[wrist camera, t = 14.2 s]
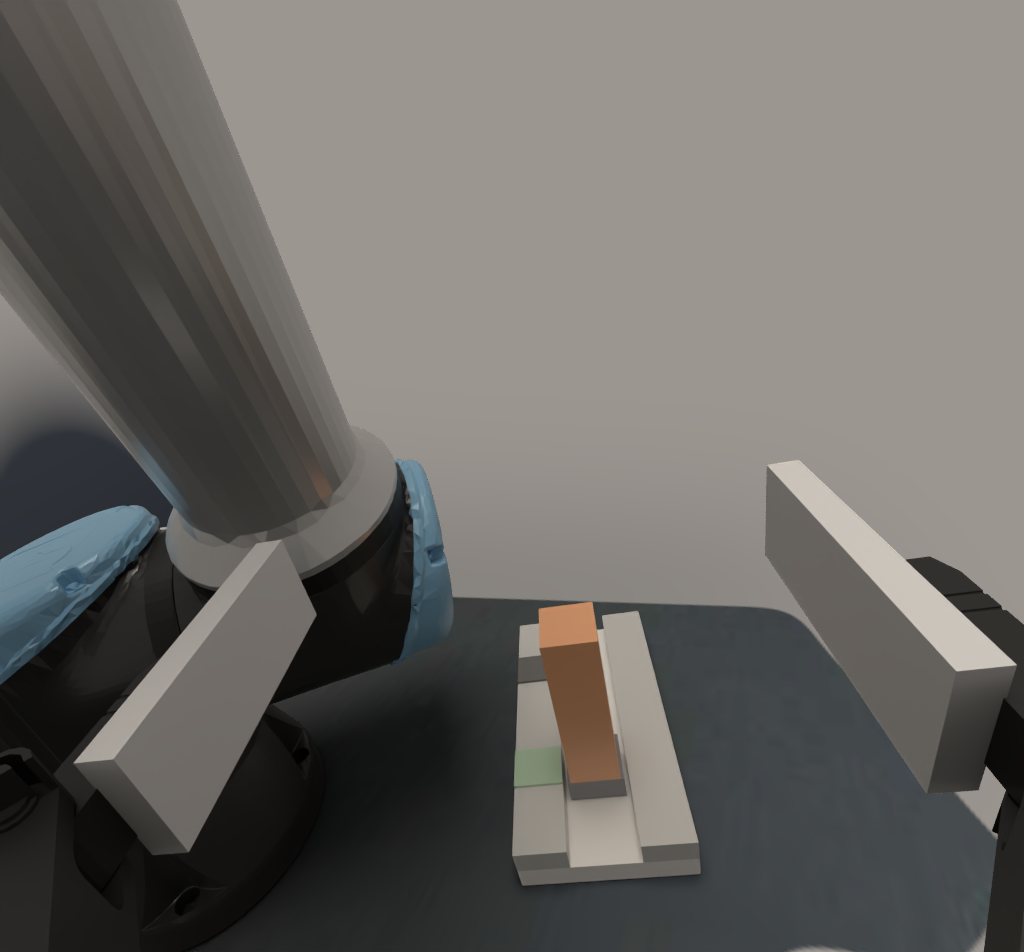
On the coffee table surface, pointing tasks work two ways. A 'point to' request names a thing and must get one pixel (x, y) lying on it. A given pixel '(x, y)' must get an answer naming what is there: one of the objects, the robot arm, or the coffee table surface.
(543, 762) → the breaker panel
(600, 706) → the handle
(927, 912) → the coffee table surface
